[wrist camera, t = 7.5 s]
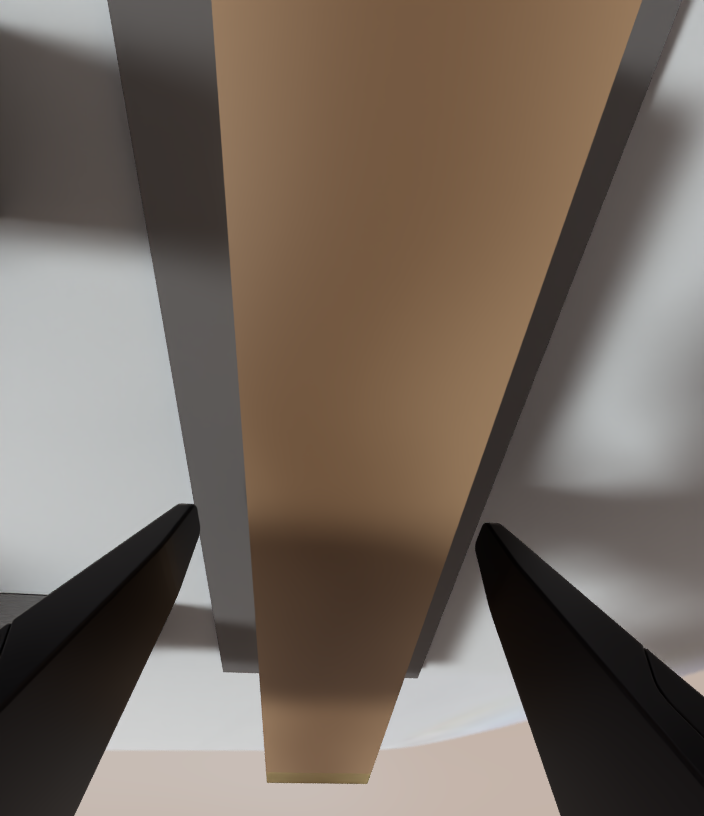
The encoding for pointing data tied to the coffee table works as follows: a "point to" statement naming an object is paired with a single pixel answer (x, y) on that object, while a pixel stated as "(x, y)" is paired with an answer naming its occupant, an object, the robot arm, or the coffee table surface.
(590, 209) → the mat
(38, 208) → the coffee table surface
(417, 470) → the rail
